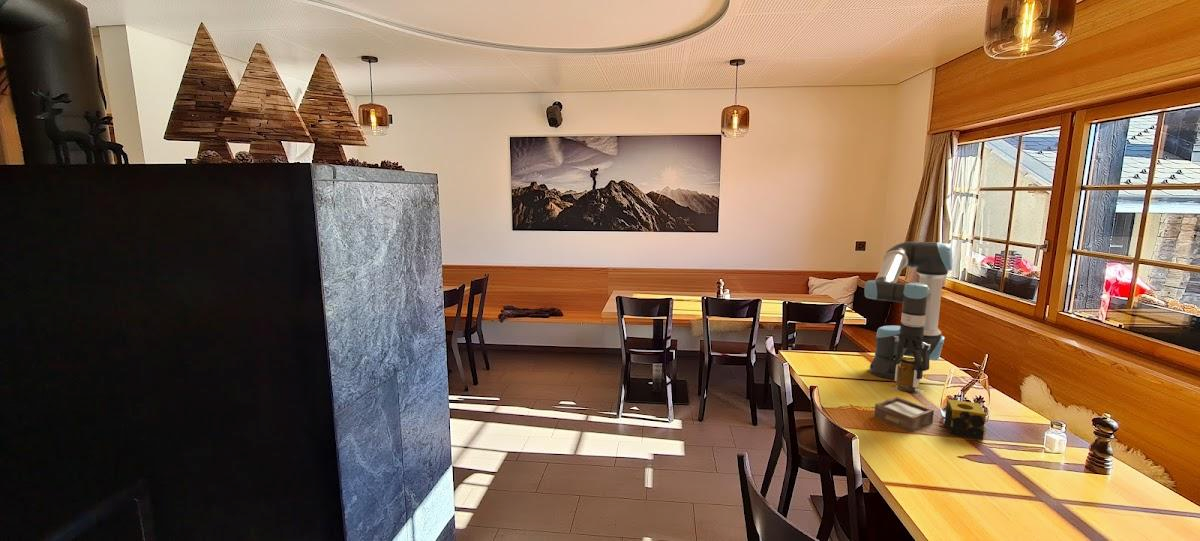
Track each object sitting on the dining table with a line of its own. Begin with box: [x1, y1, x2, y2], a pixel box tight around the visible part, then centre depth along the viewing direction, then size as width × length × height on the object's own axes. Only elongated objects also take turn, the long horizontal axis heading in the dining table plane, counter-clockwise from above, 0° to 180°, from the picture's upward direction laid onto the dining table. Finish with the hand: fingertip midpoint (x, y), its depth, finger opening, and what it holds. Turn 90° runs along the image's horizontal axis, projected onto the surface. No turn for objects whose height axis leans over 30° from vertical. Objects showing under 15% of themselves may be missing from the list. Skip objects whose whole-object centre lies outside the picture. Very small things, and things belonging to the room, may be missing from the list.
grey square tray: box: [873, 396, 935, 433], centre depth 188 cm, size 14×14×5 cm
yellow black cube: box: [944, 398, 987, 440], centre depth 179 cm, size 10×10×10 cm
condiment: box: [892, 357, 925, 396], centre depth 185 cm, size 7×8×12 cm
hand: (906, 383), depth 186 cm, fingers closed on condiment, 6 cm apart
